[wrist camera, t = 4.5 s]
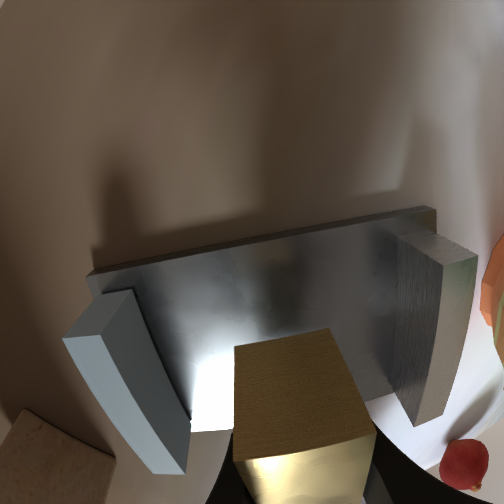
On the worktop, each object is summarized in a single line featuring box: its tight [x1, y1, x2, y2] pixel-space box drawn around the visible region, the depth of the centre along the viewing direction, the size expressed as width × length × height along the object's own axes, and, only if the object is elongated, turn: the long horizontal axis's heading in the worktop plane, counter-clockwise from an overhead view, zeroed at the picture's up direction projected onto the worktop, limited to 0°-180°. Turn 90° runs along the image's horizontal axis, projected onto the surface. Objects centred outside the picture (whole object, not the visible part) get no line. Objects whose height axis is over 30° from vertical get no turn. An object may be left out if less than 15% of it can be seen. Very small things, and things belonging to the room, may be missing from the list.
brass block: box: [233, 328, 377, 504], centre depth 9 cm, size 6×4×5 cm, turn 11°
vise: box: [86, 206, 478, 432], centre depth 14 cm, size 12×18×5 cm, turn 101°
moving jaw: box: [62, 289, 192, 474], centre depth 13 cm, size 10×2×4 cm, turn 11°
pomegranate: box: [439, 439, 489, 492], centre depth 19 cm, size 6×6×8 cm
